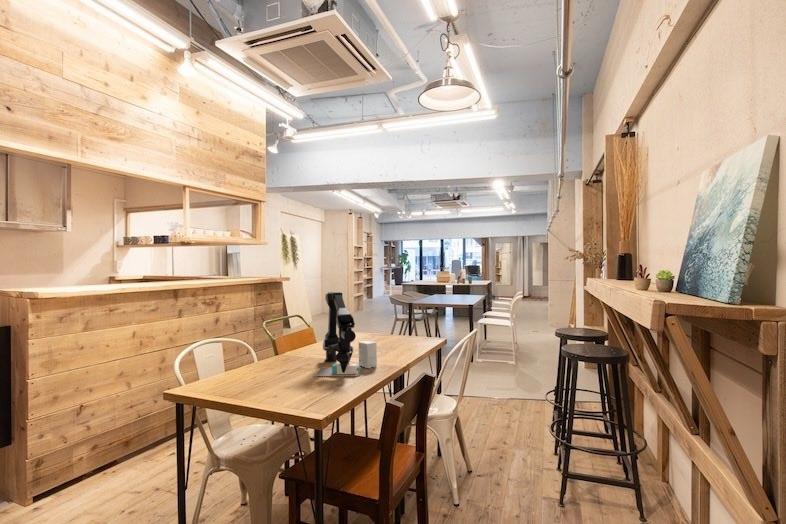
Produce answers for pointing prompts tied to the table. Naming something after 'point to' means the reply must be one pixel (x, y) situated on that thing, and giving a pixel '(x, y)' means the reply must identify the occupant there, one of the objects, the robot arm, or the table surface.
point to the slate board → (330, 372)
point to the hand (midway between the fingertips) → (344, 370)
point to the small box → (367, 354)
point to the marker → (349, 369)
